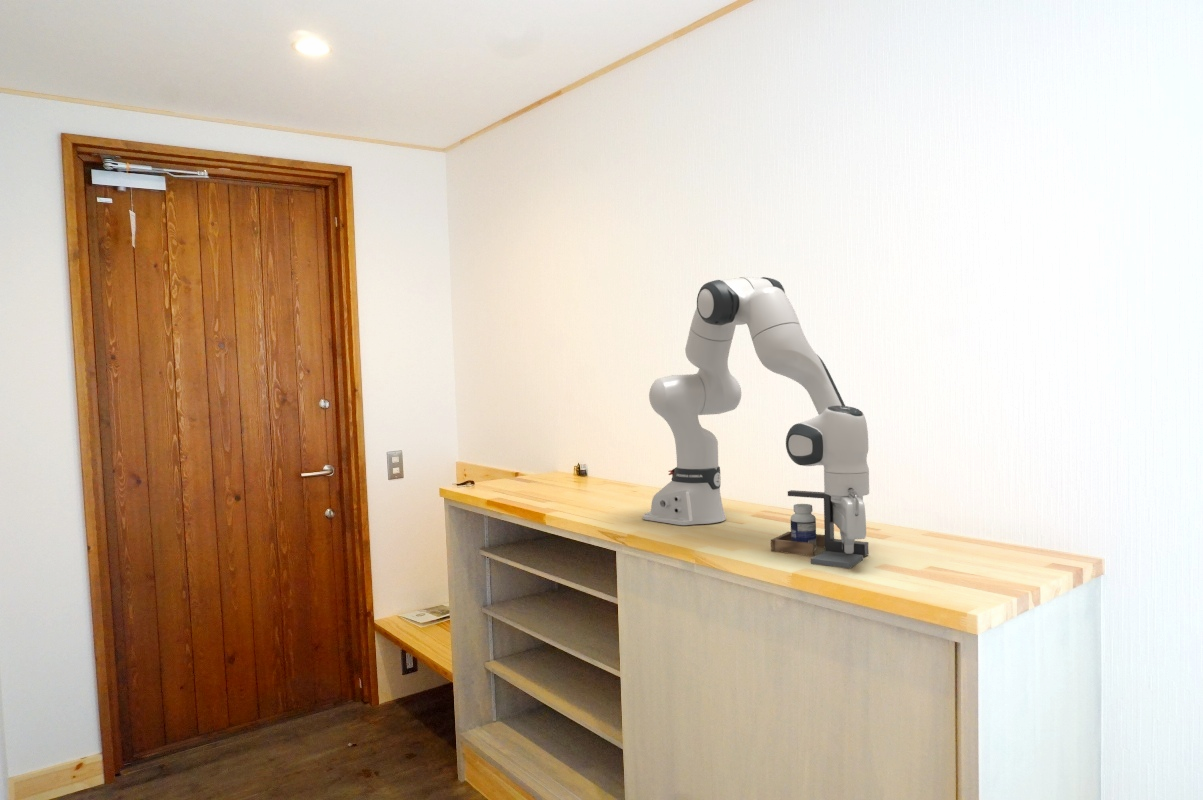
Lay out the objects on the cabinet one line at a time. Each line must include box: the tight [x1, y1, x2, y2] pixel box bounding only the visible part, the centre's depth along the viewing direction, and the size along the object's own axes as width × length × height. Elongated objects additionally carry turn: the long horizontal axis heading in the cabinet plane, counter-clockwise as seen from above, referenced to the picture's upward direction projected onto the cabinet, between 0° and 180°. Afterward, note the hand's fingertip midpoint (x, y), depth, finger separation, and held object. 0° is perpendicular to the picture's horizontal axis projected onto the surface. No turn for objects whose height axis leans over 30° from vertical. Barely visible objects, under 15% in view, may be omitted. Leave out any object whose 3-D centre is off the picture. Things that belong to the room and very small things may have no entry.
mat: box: [810, 550, 864, 569], centre depth 159 cm, size 8×8×1 cm
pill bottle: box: [790, 503, 817, 551], centre depth 171 cm, size 5×5×10 cm
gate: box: [787, 489, 869, 557], centre depth 168 cm, size 17×2×12 cm, turn 54°
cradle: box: [770, 531, 825, 557], centre depth 172 cm, size 10×10×2 cm
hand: (847, 552), depth 161 cm, fingers closed
